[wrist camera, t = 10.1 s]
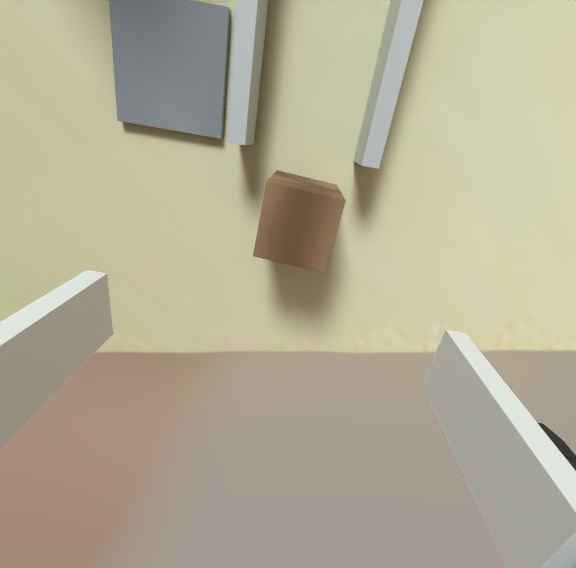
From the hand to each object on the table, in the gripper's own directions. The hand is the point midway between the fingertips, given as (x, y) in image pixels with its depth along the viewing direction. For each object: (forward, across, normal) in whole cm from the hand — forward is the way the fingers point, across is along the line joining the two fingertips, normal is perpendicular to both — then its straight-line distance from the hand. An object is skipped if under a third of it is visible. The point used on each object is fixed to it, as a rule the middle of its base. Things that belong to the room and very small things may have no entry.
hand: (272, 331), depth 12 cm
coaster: (+17, -10, +10) cm, 22 cm away
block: (+17, 0, +2) cm, 17 cm away
